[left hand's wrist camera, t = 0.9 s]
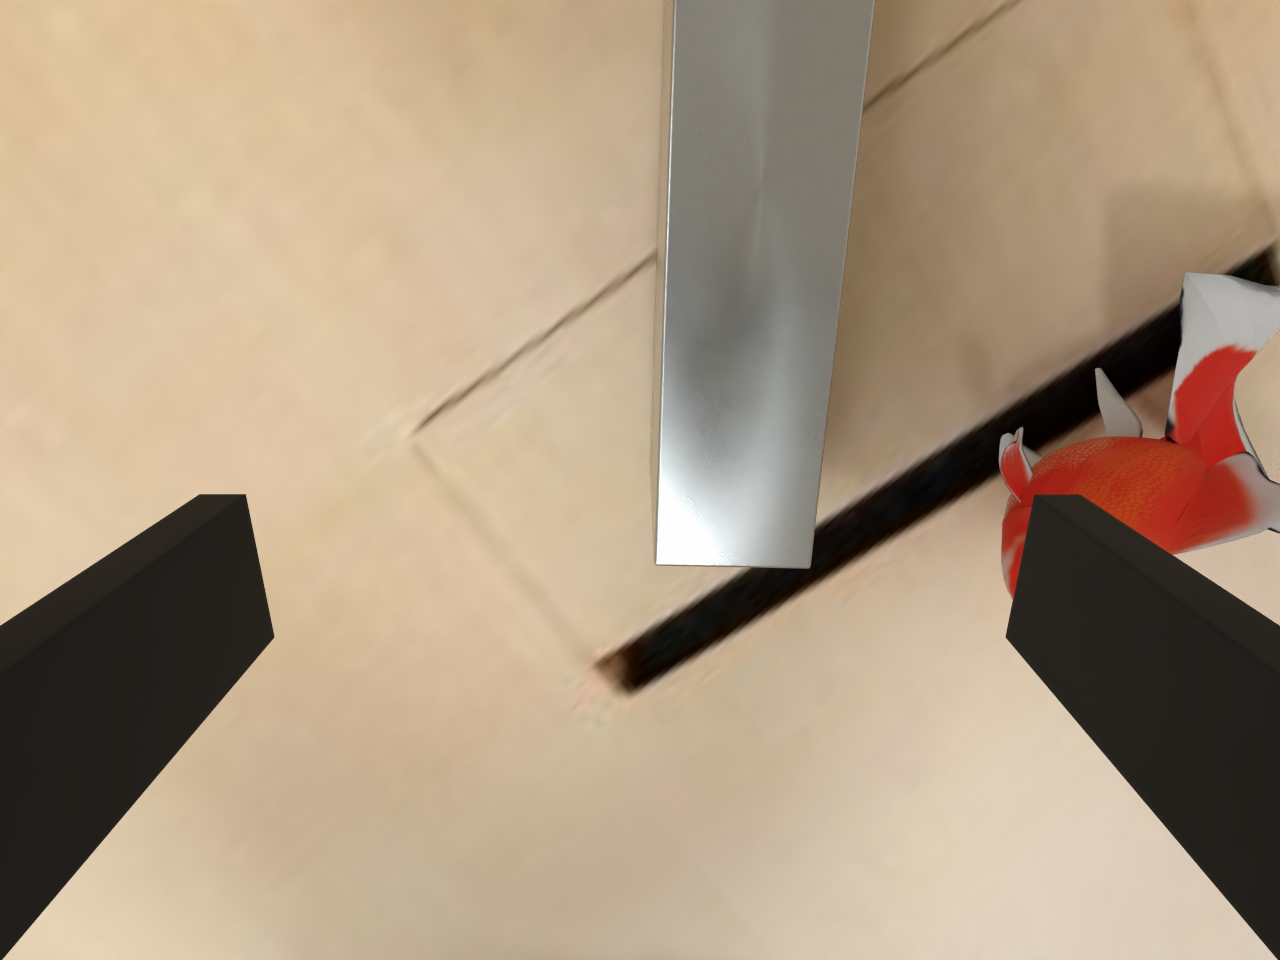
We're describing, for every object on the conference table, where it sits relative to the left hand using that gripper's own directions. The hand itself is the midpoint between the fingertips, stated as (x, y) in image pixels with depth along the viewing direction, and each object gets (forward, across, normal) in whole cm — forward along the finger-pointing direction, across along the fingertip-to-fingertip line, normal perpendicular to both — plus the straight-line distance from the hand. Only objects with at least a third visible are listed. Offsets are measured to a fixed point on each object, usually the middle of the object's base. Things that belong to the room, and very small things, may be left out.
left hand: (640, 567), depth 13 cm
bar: (+18, -3, -6) cm, 19 cm away
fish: (+18, -19, +2) cm, 26 cm away
